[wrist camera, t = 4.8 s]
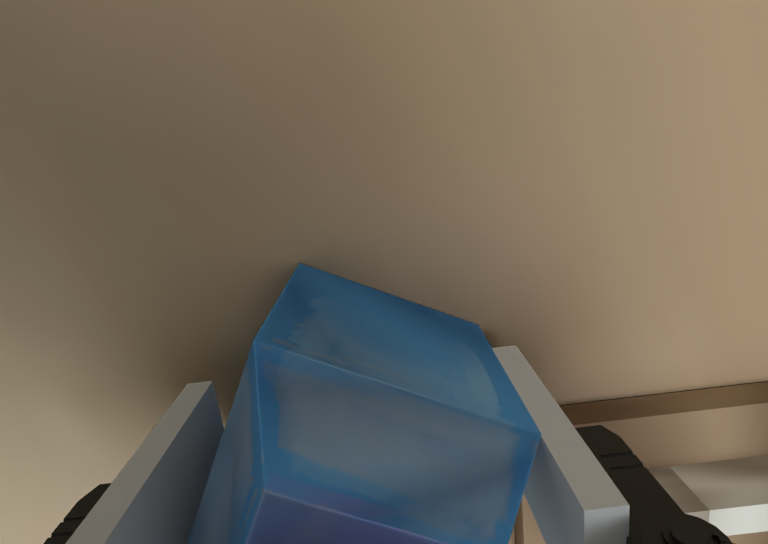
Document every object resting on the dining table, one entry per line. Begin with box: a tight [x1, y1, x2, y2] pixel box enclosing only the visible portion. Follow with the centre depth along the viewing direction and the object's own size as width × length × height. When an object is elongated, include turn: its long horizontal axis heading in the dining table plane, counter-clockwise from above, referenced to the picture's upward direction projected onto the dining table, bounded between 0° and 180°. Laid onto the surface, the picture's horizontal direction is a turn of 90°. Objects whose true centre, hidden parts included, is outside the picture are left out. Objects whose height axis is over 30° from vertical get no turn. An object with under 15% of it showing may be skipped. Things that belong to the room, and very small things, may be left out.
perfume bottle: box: [187, 263, 541, 544], centre depth 11 cm, size 6×6×12 cm
